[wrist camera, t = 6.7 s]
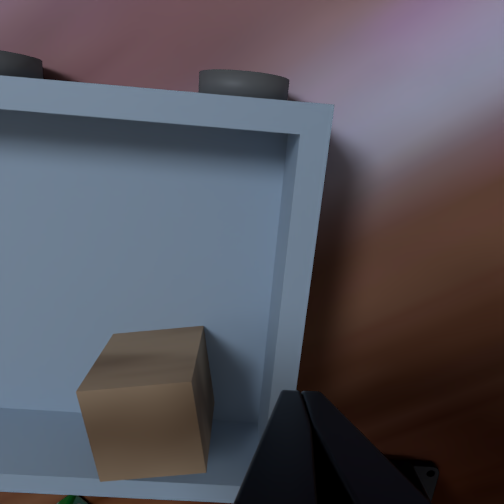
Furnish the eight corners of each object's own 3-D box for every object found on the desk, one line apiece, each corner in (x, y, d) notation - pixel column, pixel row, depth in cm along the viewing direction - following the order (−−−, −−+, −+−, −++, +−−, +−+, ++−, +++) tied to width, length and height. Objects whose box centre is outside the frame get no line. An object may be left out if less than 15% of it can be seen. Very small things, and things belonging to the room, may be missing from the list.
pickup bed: (271, 433, 23) (278, 522, 18) (-5, 417, 23) (-81, 504, 17) (311, 88, 18) (338, 71, 12) (-55, 55, 17) (-189, 23, 12)
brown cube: (214, 401, 21) (206, 473, 16) (130, 409, 21) (100, 481, 17) (203, 325, 19) (191, 381, 15) (113, 333, 20) (75, 391, 15)
